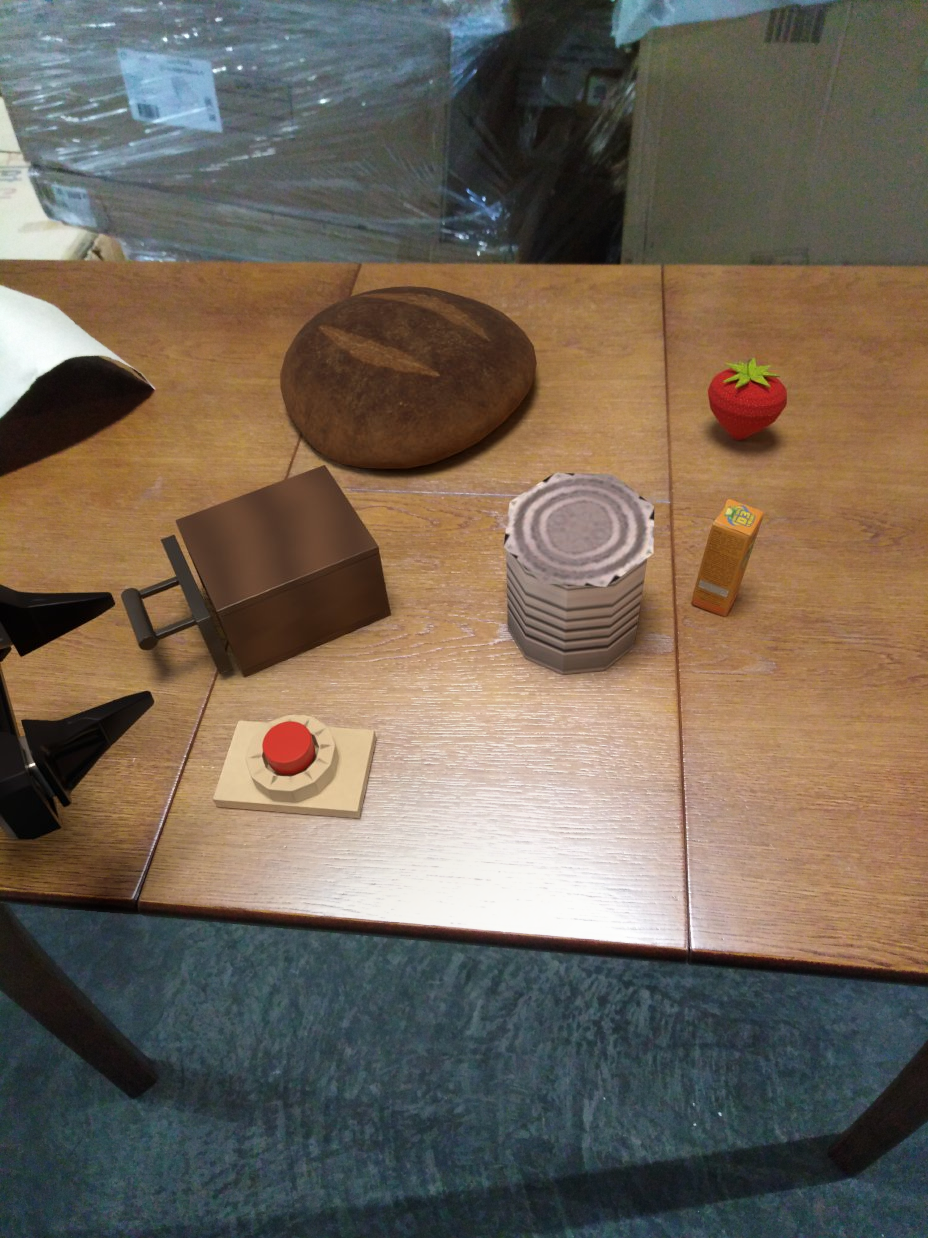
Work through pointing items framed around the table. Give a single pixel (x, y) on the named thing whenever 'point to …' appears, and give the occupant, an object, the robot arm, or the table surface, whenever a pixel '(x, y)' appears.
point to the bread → (404, 376)
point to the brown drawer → (200, 617)
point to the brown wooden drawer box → (286, 568)
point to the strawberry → (746, 398)
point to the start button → (288, 747)
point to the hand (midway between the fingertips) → (131, 645)
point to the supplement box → (726, 557)
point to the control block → (315, 790)
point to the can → (576, 570)
